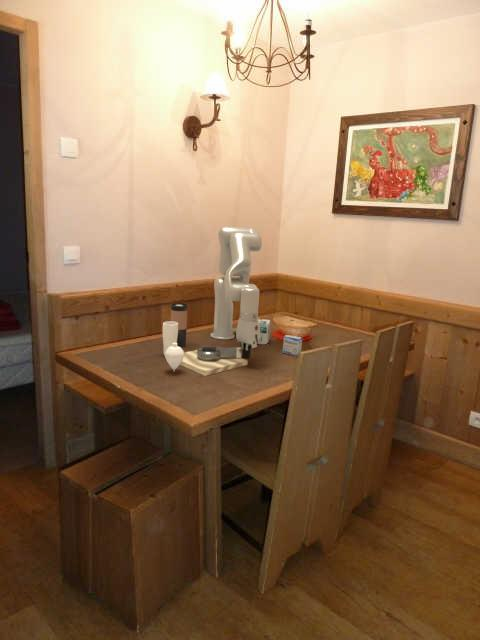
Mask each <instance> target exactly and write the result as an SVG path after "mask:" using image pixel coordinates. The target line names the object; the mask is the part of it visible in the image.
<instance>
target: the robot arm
mask: <svg viewBox="0 0 480 640" xmlns="http://www.w3.org/2000/svg"><path fill="white" fill-rule="evenodd" d="M218 242H219V246H220V253H219V263H218V271H219V273H220V274H221V275H222V276H219V277H217V278H215V279H214V282H213V287H214V288H213V289H214V315H213V321H214V322H213V332H211V333H210V337H211V338H213V339H216V340H231V339H232V340H233V339H234V338H235V336H236V341H237V344H239V345H240V346H241V347H240V348H241V358H243V359H245V360H248V359H250V357H251V350H252V349H255V348H258V345H257V343H259V341H260V326H259V321H257V320H258V319H260V316H258V315H259V305H260V304H259V303H260V289H259V287H257V285H256V284H254V283H250V276H251V270H252V269H251V268H252V256H251V252H260V251H261V249H262V245H263V241H262V237H261V235H260V233H259V232H258V231H257V230H256V229H255V228H253V227H246V226H243V227H242V226H229V225H228V226H222V227H220V228H219V230H218ZM233 302H240V304H239V305H240V309H239V318H238V321H237V326H236V327H233V319H234V318H233V317H234V314H233V313H234V303H233ZM234 333H236V334H234Z"/></svg>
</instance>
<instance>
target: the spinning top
mask: <svg viewBox="0 0 480 640" xmlns="http://www.w3.org/2000/svg"><path fill="white" fill-rule="evenodd" d="M184 353H185V351H184V350H183V349H182V347H178V346H177V343H173V346H171V347H169V348H168V349H167V350H166V352H165V356H164V357H165V358H164V359H165V360H166V362H167V363H168V365H169V366H170V368H171V369H172V370H173V372H176V371H175V370H176V369H177V368H179V366H180V365H179V364H180V363H181V362H182V360H183V358H184Z"/></svg>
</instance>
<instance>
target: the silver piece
mask: <svg viewBox="0 0 480 640" xmlns="http://www.w3.org/2000/svg"><path fill="white" fill-rule="evenodd" d="M196 350H197V358H198V359H200V360H203V361H216V360H219V359H220V358H242V348H241V347H217V346H216V345H201V347H199V348H197V349H196Z"/></svg>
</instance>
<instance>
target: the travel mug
mask: <svg viewBox="0 0 480 640" xmlns="http://www.w3.org/2000/svg"><path fill="white" fill-rule="evenodd" d="M170 321H173V322H177V323H178V337H177V346H178V347H181V348H184V347H186V343H187V328H188V325H187V323H188V304H187V303H182V302H173V303H171V306H170Z"/></svg>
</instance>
